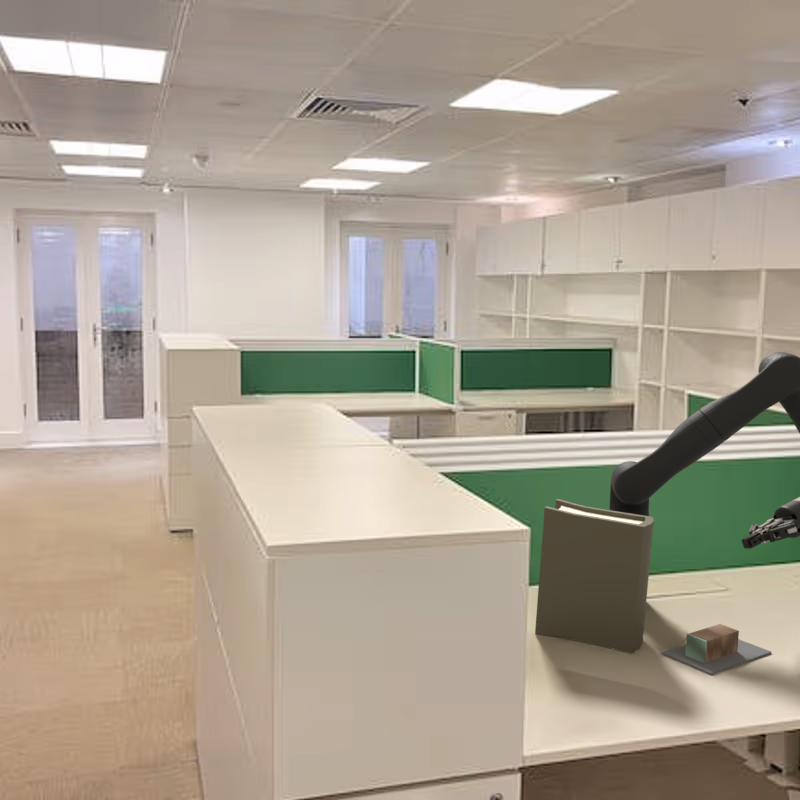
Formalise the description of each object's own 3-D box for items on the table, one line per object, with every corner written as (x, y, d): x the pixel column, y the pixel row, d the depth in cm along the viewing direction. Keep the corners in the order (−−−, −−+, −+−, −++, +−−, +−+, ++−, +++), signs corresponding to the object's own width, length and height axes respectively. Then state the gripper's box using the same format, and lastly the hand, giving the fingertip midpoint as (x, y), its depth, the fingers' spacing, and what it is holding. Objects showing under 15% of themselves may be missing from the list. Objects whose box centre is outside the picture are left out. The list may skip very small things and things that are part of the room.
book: (645, 641, 194) (657, 514, 190) (635, 657, 186) (647, 524, 182) (548, 620, 204) (557, 498, 200) (535, 634, 195) (544, 507, 191)
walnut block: (737, 651, 188) (703, 663, 181) (718, 644, 191) (685, 655, 185) (738, 630, 187) (705, 641, 181) (720, 623, 191) (686, 634, 184)
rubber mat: (711, 675, 177) (711, 673, 177) (661, 653, 186) (661, 651, 186) (771, 653, 188) (771, 651, 188) (721, 634, 198) (721, 632, 198)
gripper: (773, 500, 208) (718, 528, 201) (819, 498, 196) (761, 527, 189) (784, 531, 208) (729, 560, 201) (831, 531, 195) (774, 561, 189)
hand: (745, 544), depth 195 cm, fingers closed
